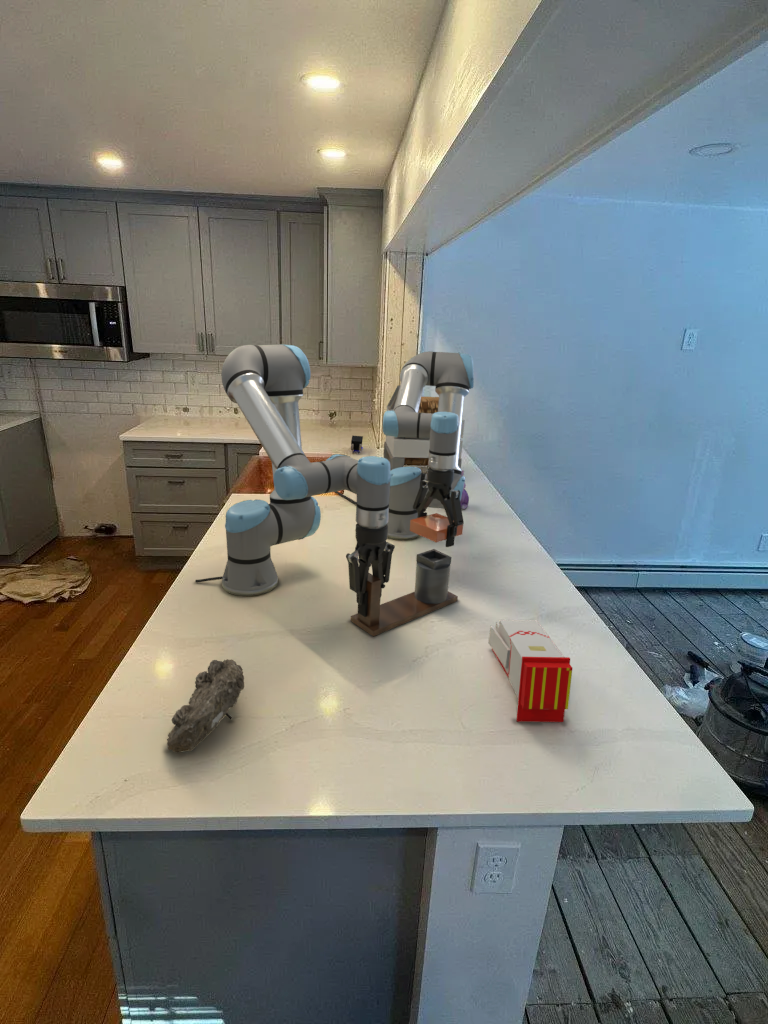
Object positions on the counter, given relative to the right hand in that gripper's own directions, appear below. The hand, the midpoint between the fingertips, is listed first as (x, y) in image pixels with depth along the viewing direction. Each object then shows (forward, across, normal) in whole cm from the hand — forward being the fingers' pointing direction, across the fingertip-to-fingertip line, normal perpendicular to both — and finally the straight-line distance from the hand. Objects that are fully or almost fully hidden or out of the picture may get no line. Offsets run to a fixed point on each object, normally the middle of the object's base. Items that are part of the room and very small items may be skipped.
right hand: (435, 539), depth 168 cm
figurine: (+10, -37, +52) cm, 65 cm away
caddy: (+11, +12, -22) cm, 27 cm away
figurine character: (+10, -132, +74) cm, 152 cm away
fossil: (+12, +20, -79) cm, 82 cm away
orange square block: (-1, 0, 0) cm, 1 cm away
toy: (+11, +49, -22) cm, 55 cm away
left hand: (+7, +12, -35) cm, 37 cm away
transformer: (+10, -82, +74) cm, 111 cm away
